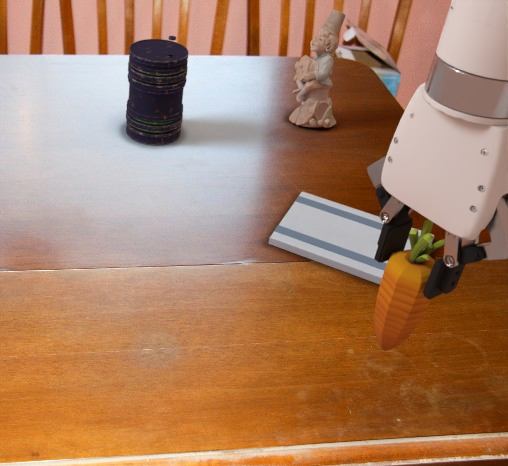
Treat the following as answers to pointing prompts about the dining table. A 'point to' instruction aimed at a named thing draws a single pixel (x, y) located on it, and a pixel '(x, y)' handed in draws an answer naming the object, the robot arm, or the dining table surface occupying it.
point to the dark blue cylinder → (156, 90)
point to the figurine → (317, 77)
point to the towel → (333, 236)
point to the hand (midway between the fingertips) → (412, 272)
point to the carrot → (404, 289)
